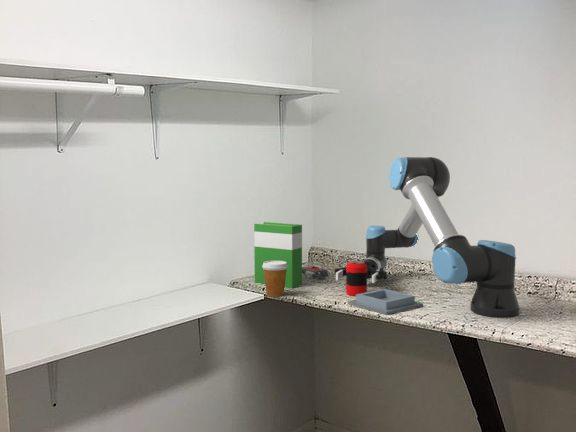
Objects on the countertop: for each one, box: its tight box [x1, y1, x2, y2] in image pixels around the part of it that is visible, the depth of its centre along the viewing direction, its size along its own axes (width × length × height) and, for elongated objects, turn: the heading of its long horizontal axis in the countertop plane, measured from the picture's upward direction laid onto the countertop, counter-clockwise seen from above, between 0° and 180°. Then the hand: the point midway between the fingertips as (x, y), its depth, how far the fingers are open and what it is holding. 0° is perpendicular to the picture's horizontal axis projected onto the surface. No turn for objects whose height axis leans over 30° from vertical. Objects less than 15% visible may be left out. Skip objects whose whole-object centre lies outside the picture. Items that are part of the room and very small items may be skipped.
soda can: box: [345, 260, 368, 297], centre depth 224 cm, size 8×8×12 cm
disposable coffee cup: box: [262, 261, 288, 298], centre depth 224 cm, size 10×10×12 cm
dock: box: [347, 288, 424, 316], centre depth 208 cm, size 18×18×4 cm
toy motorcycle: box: [302, 264, 329, 280], centre depth 258 cm, size 9×4×20 cm
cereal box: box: [253, 221, 303, 289], centre depth 241 cm, size 18×7×24 cm, turn 58°
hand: (354, 277), depth 222 cm, fingers open, 13 cm apart
